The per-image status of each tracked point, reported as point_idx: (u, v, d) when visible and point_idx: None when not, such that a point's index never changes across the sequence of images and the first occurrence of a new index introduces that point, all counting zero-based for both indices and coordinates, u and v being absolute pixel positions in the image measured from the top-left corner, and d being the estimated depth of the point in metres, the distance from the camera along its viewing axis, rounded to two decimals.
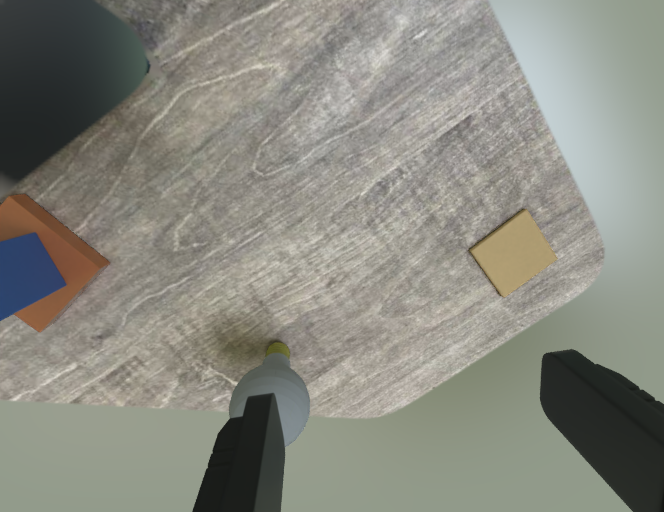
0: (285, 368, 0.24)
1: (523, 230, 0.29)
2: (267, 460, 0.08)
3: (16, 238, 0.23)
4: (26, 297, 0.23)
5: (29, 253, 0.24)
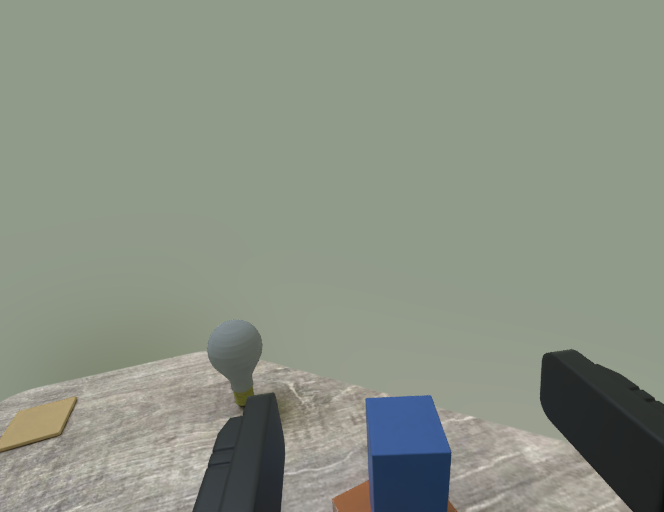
0: (213, 366, 0.34)
1: (12, 436, 0.35)
2: (267, 460, 0.08)
3: None
4: (368, 463, 0.24)
5: None
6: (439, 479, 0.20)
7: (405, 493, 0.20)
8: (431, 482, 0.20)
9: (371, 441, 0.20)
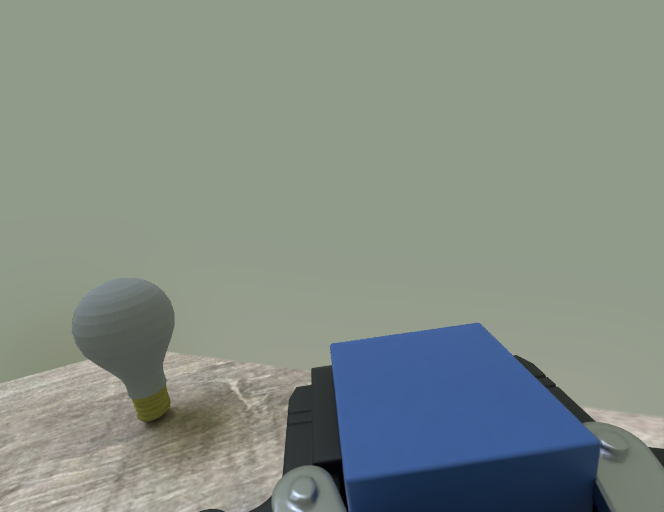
0: (83, 353, 0.20)
1: None
2: None
3: None
4: None
5: None
6: None
7: None
8: None
9: (343, 437, 0.07)
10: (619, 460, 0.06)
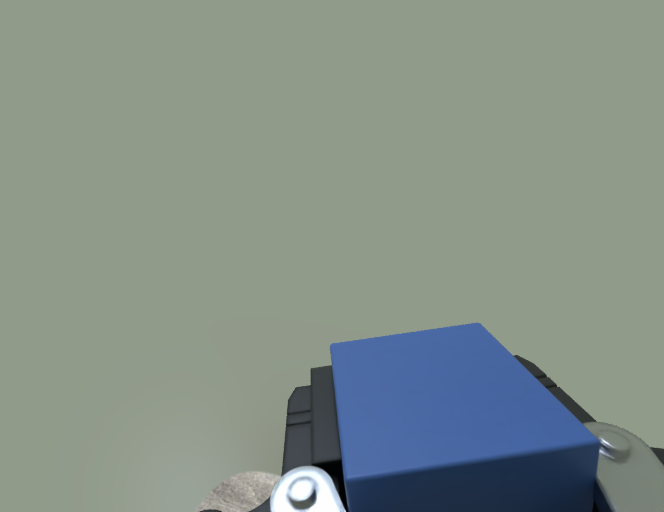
0: None
1: None
2: None
3: None
4: None
5: None
6: None
7: None
8: None
9: (343, 437, 0.07)
10: (620, 460, 0.06)
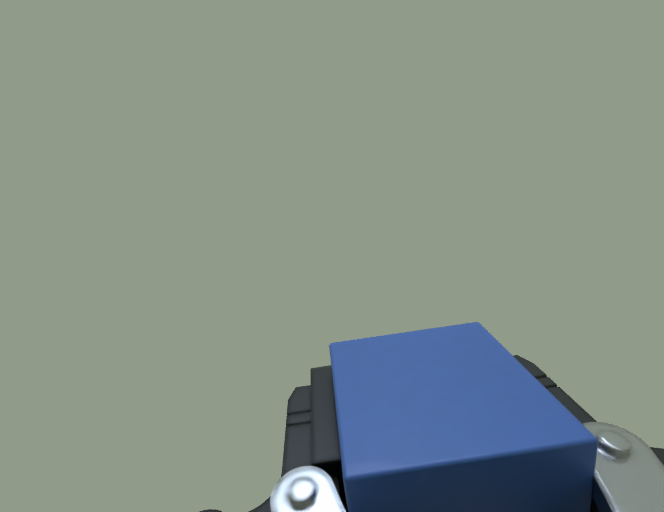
0: None
1: None
2: None
3: None
4: None
5: None
6: None
7: None
8: None
9: (342, 436, 0.07)
10: (620, 460, 0.06)
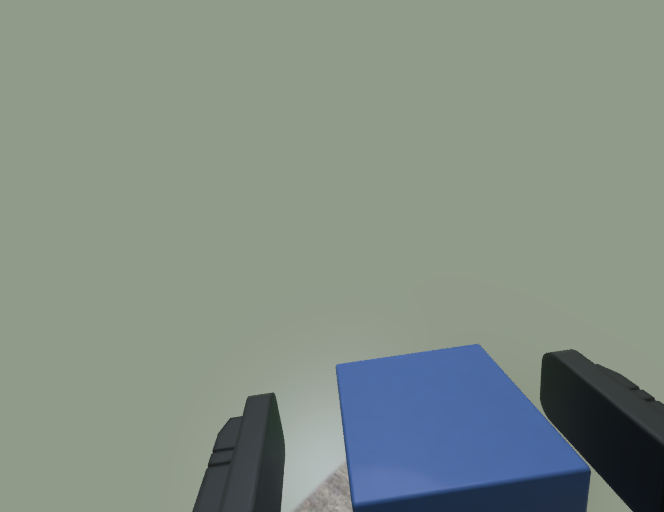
0: None
1: None
2: (267, 460, 0.08)
3: None
4: None
5: None
6: None
7: None
8: None
9: (350, 461, 0.07)
10: None
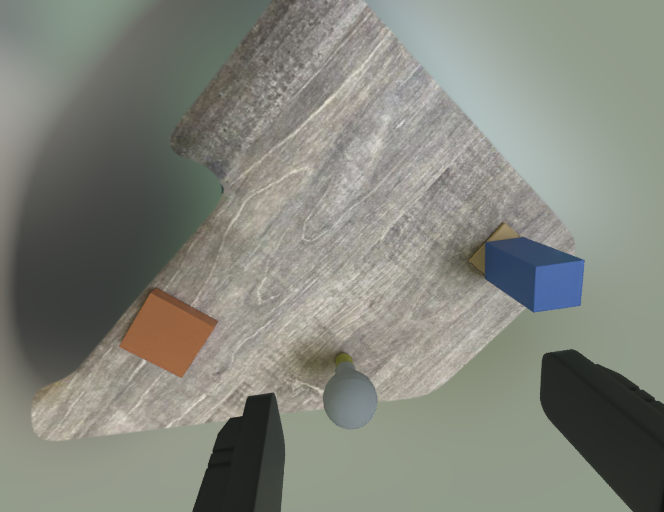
0: (354, 372, 0.35)
1: (506, 238, 0.38)
2: (267, 460, 0.08)
3: (493, 246, 0.37)
4: (539, 245, 0.35)
5: (503, 243, 0.37)
6: (520, 297, 0.33)
7: (514, 275, 0.33)
8: (519, 292, 0.33)
9: (546, 266, 0.30)
10: None
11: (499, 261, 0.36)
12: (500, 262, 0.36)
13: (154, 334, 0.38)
